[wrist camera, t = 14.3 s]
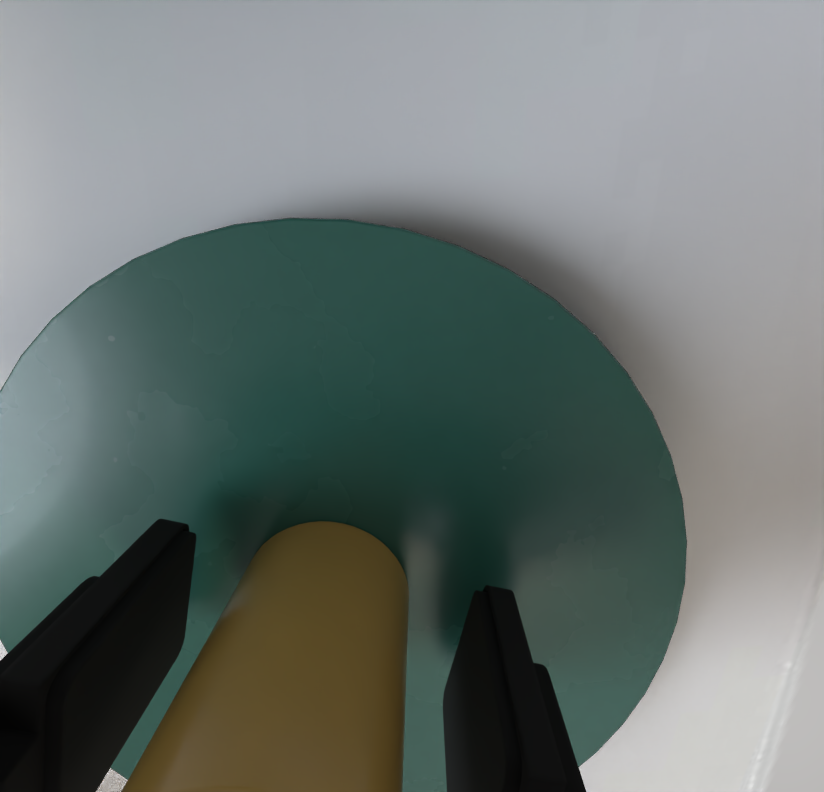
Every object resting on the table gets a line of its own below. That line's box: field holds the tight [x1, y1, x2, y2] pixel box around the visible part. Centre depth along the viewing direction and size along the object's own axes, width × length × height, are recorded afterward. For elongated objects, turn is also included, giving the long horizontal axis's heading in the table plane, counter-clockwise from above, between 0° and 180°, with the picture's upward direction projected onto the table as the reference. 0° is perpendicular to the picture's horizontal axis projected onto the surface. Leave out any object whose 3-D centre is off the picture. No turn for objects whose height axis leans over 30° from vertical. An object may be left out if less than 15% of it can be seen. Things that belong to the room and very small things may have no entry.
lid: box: [0, 218, 687, 792], centre depth 9 cm, size 16×16×7 cm
